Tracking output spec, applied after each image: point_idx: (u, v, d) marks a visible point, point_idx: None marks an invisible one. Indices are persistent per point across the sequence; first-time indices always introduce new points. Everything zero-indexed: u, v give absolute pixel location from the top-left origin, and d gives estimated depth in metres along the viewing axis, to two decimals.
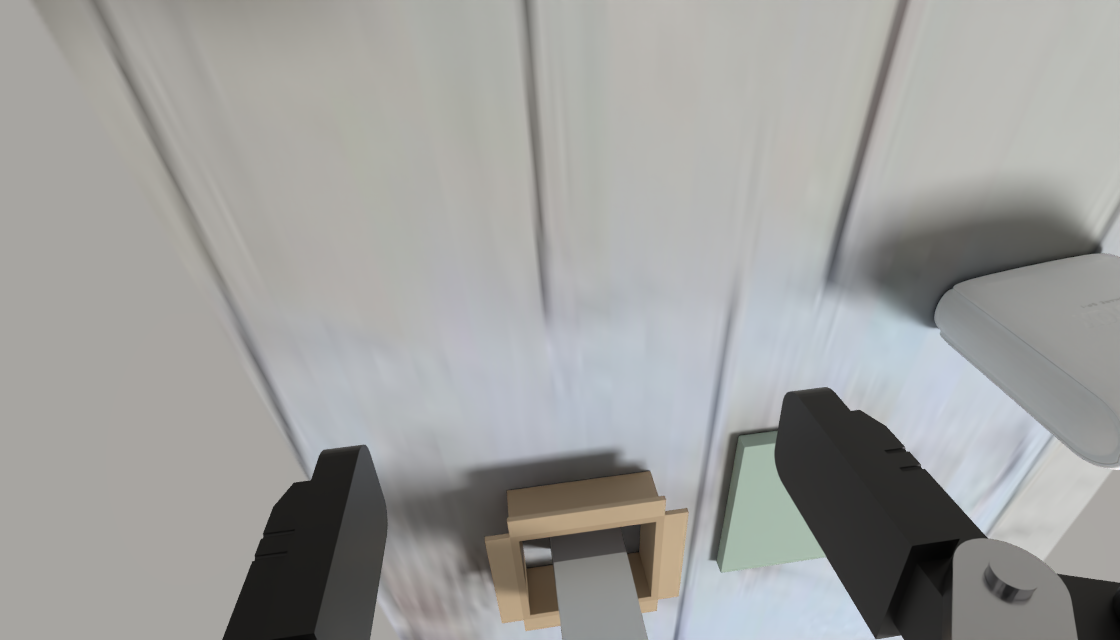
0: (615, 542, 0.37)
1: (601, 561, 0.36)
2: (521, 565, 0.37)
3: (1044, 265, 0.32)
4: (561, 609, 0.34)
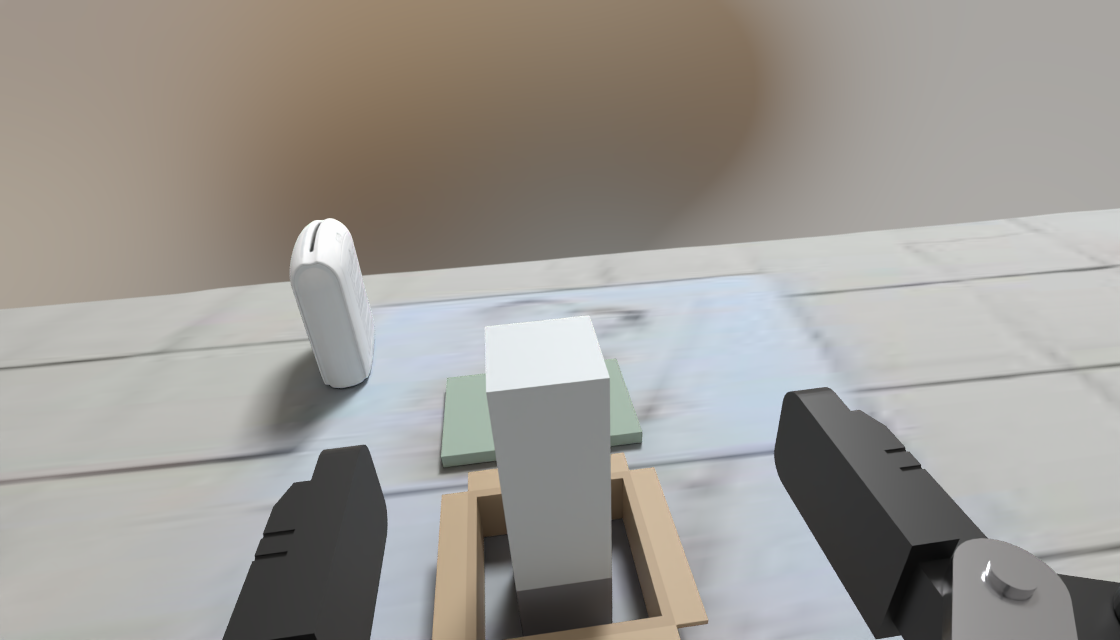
0: None
1: None
2: (532, 636, 0.26)
3: None
4: (510, 548, 0.26)
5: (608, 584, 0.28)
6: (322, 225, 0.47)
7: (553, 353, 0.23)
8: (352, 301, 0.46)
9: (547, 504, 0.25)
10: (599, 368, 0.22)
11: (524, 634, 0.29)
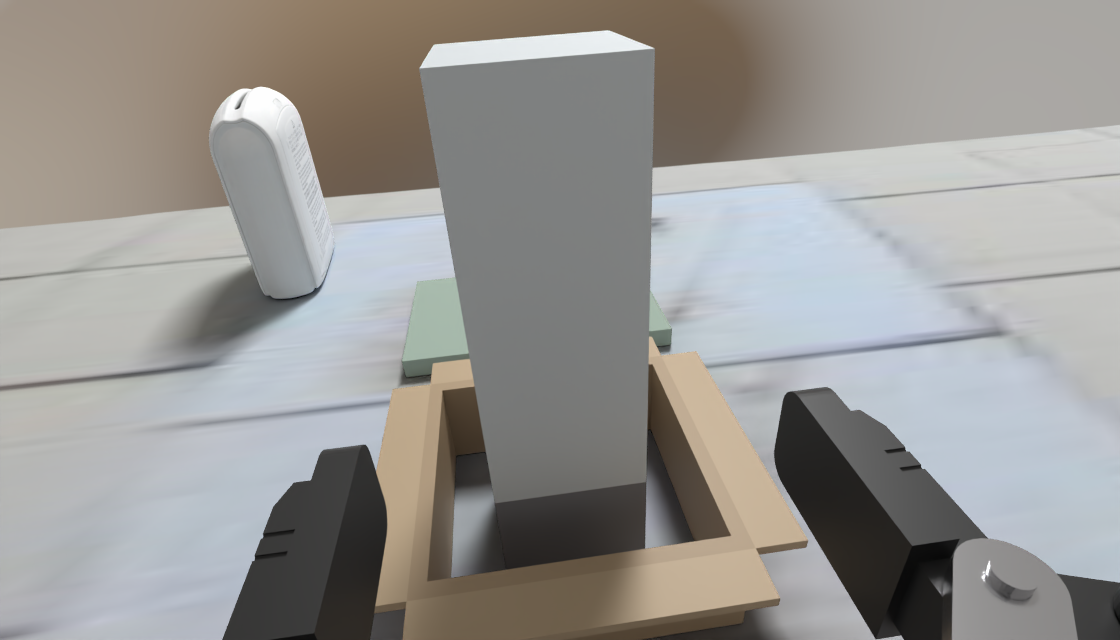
0: None
1: None
2: (520, 569, 0.16)
3: None
4: (482, 423, 0.16)
5: (640, 494, 0.18)
6: (256, 88, 0.37)
7: (548, 46, 0.13)
8: (294, 182, 0.36)
9: (541, 336, 0.14)
10: (633, 46, 0.12)
11: None
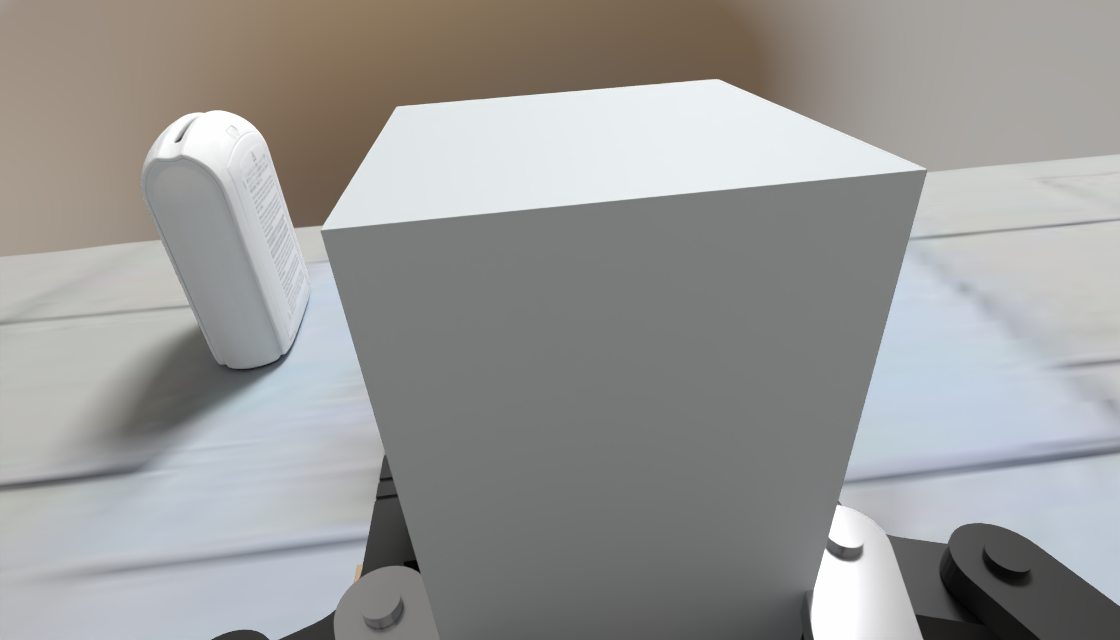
0: None
1: None
2: None
3: None
4: None
5: None
6: (207, 112, 0.30)
7: (629, 131, 0.06)
8: (253, 230, 0.29)
9: None
10: (847, 150, 0.05)
11: None
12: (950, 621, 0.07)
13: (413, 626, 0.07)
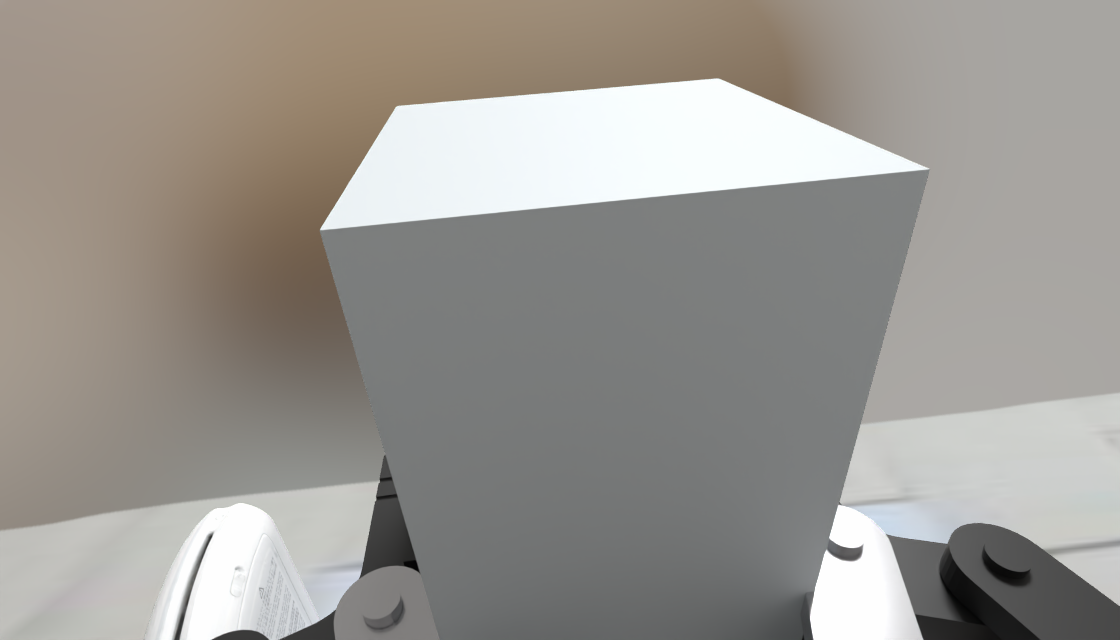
0: None
1: None
2: None
3: None
4: None
5: None
6: (208, 558, 0.26)
7: (629, 132, 0.06)
8: None
9: None
10: (848, 150, 0.05)
11: None
12: (950, 621, 0.07)
13: (413, 626, 0.07)
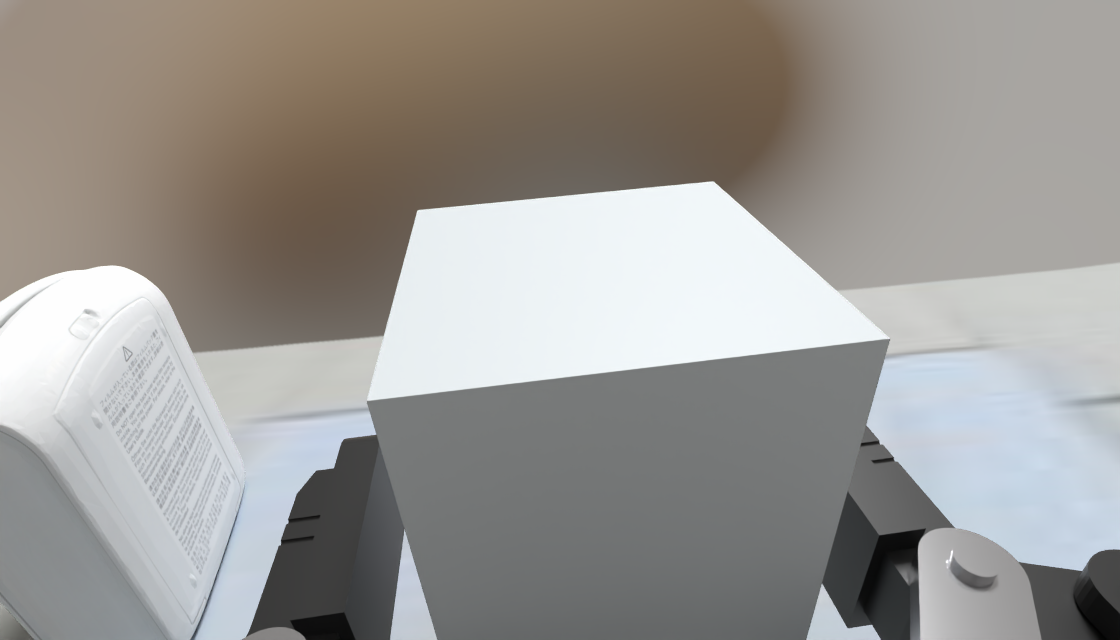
0: None
1: None
2: None
3: None
4: None
5: None
6: (45, 292, 0.18)
7: (631, 264, 0.07)
8: (116, 491, 0.18)
9: None
10: (823, 305, 0.06)
11: None
12: None
13: None
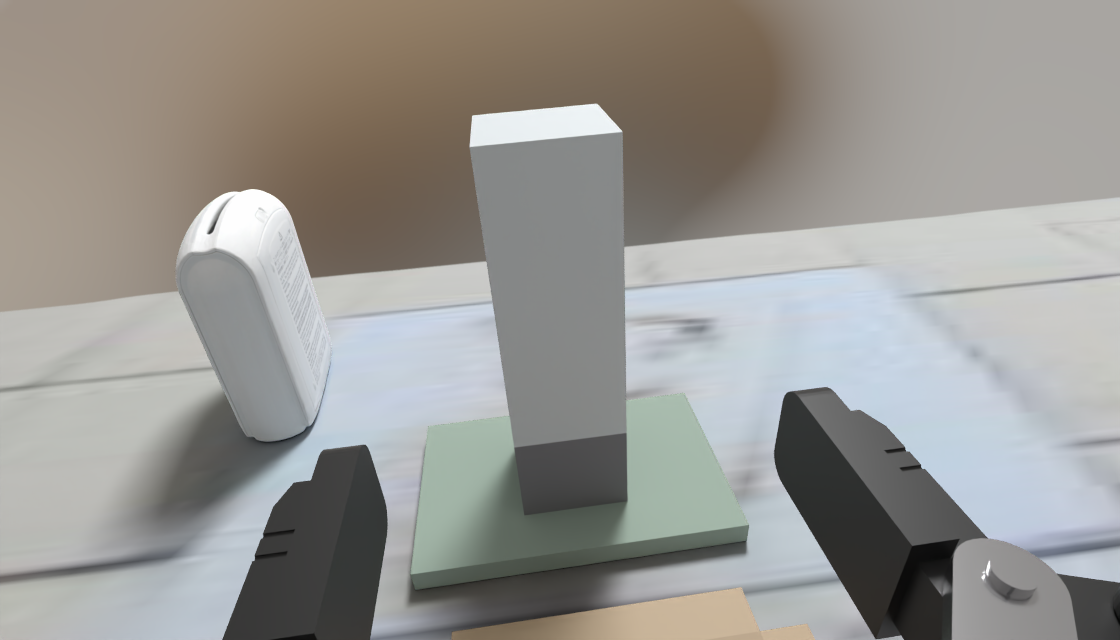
0: None
1: None
2: None
3: None
4: (506, 386, 0.22)
5: (622, 442, 0.24)
6: (236, 196, 0.31)
7: (553, 123, 0.19)
8: (281, 311, 0.30)
9: (548, 322, 0.21)
10: (609, 127, 0.18)
11: (525, 509, 0.25)
12: None
13: None
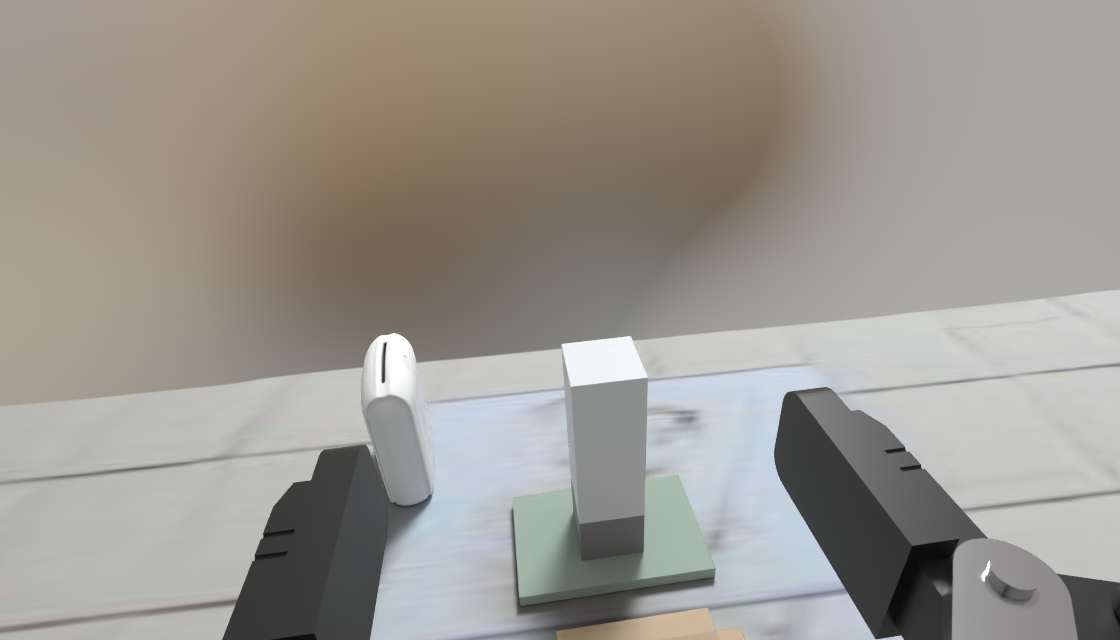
0: (572, 487, 0.44)
1: (573, 488, 0.43)
2: None
3: None
4: (577, 492, 0.39)
5: (642, 520, 0.41)
6: (389, 349, 0.47)
7: (609, 362, 0.36)
8: (420, 424, 0.47)
9: (604, 461, 0.37)
10: (640, 371, 0.35)
11: (582, 557, 0.42)
12: None
13: None
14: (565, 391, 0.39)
